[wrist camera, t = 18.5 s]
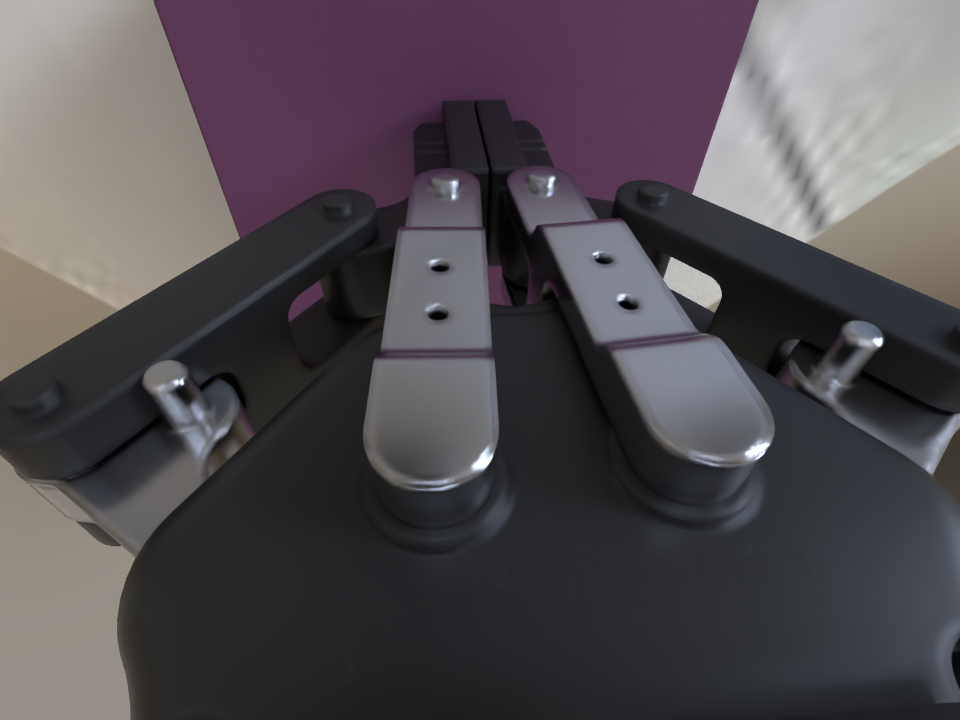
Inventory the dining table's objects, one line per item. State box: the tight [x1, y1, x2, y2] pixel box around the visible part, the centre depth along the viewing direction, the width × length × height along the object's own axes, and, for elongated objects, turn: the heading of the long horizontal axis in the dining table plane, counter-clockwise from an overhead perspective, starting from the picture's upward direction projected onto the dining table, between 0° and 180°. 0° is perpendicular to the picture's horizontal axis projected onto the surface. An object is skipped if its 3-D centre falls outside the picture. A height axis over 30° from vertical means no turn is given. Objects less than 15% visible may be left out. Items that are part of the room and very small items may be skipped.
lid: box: [153, 0, 759, 322], centre depth 16 cm, size 15×13×1 cm
